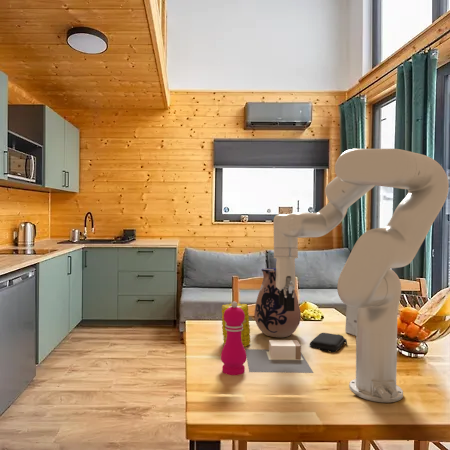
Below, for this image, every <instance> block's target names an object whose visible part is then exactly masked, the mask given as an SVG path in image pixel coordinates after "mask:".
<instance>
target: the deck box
mask: <svg viewBox="0 0 450 450" xmlns="http://www.w3.org/2000/svg"><path fill="white" fill-rule="evenodd" d="M268 349H269V354H270V357H271V359H301V353H302V346H301V344H300V342H299V341H298V340H295V339H290V340H289V339H269V340H268Z"/></svg>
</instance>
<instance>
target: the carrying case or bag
mask: <svg viewBox="0 0 450 450" xmlns="http://www.w3.org/2000/svg"><path fill="white" fill-rule="evenodd" d="M347 343H348V340H347V338H345V337H344V336H343V335H341V334H335V333H328V332H320V333H319V334H318V335H316V336H315V337H314V338H313V339H312V340H311V341H310V342H309V346H310V347H311V348H313V349H319V350H320V351H324V352H330V353H336V352H337V351H340V349H341V347H343V345H344V344H345V345H347Z"/></svg>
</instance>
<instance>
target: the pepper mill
mask: <svg viewBox="0 0 450 450" xmlns="http://www.w3.org/2000/svg"><path fill="white" fill-rule="evenodd" d="M230 304H231V306H232V307H230V308H228V309H226V310H225V312H224V320H225V322H226V323H227V324H225V326H226V328H225V329H226V330H227V339H226V343H225V344H224V345H223V347H222V350H221V354H220V360H221V362H222V363H223V365H222V370H221V371H222V373H223V374H225V375H229V376H239V375H242V374H244V373H245V370H246V368H245V367H246V366H245V365H244V364H245V363H246V362H247V356H246V351H245V347H244V346H243V344H242V340H241V331H242V330H243V325H242V322H243V321H244V319H245V314H244V311H243V310H242V309H241V308H239V307H237V305H238V304H239V303H238V302H237V301H232V302H231V303H230Z"/></svg>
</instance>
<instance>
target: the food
mask: <svg viewBox="0 0 450 450" xmlns="http://www.w3.org/2000/svg"><path fill="white" fill-rule="evenodd" d="M237 304H238V305H237V307H239V308H241V309H242V310H243V311H244V314H245V319H244V321H243V322H242V325H243V330H242V331H241V340H242V344H243V346H244V348H247V346H250V343H251V335H250V333H251V329H250V327H251V326H250V318H249V317H250V315H249V314H250V313H249V306H248V304H246V303H242V304H241V303H237ZM230 307H232V306H231V303H226V304H222V305H221V315H222V316H221V319H222V320H221V325H222V327H221V328H222V336H223V338H222V340H223V344H224V345H225V343H226V339H227V330H226V329H225V328H226V326H225V324H227V323H226V322H225V320H224V312H225V310H226V309H228V308H230Z"/></svg>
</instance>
